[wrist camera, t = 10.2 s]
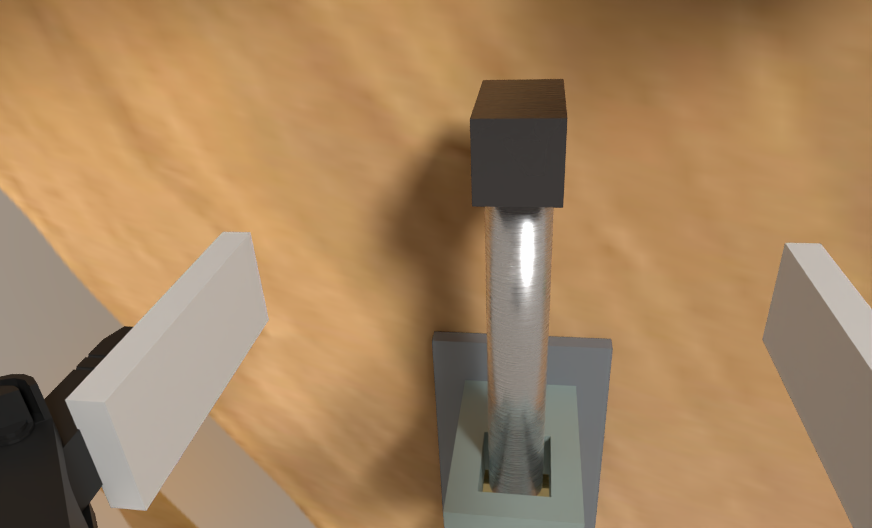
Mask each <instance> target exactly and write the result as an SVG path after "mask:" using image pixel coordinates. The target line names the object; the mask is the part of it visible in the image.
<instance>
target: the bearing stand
mask: <svg viewBox="0 0 872 528" xmlns="http://www.w3.org/2000/svg"><path fill="white" fill-rule="evenodd" d="M432 348H433V363H434V379H435V395H436V410H437V426H438V442H439V457H440V473H441V488H442V504H443V517H444V528H595V523H596V513H597V502H598V492H599V482H600V472H601V462H602V451H603V441H604V431H605V421H606V411H607V401H608V390H609V380H610V370H611V360H612V350H613V348H612V341H611V339H599V338H575V337H551V336H548V361H547V386H546V411H545V436H544V461H543V474H549V497H543V496H530V495H517V494H504V493H492V492H483V483H484V474H485V470H489V450H488V383H487V334H481V333H457V332H434V335H433V339H432Z"/></svg>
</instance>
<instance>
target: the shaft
mask: <svg viewBox="0 0 872 528" xmlns="http://www.w3.org/2000/svg"><path fill="white" fill-rule="evenodd" d="M566 135H567V110H566V100H565V90H564V79H534V80H483V82H482V85H481V88H480V91H479V94H478V97H477V100H476V103H475V106H474V109H473V111H472V114H471V117H470V138H471V178H472V206H476V207H485V249H486V316H487V383H488V450H489V485H490V488H491V490H492V491H493V493H504V494H517V495H530V496H537V495H538V494H539V493H540V491H541V489H542V485H543V461H544V436H545V411H546V386H547V361H548V336H549V311H550V286H551V261H552V236H553V211H554V208H563V198H564V177H565V156H566Z"/></svg>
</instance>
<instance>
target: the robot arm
mask: <svg viewBox="0 0 872 528" xmlns="http://www.w3.org/2000/svg"><path fill="white" fill-rule="evenodd" d="M268 320H269V318H268V313H267V309H266V304H265V299H264V294H263V290H262V285H261V280H260V275H259V271H258V266H257V261H256V256H255V252H254V247H253V242H252V237H251V233H250V232H222V233H221V234H220V235H219V237H218V238H217V239H216V240H215V241H214V242H213V243H212V244H211V245H210V246H209V247H208V248H207V249H206V250H205V251H204V252H203V254H202V255H201V256H200V257H199V258H198V259H197V260H196V261H195V262H194V263H193V264H192V265H191V266H190V267H189V268H188V270H187V271H186V272H185V273H184V274H183V275H182V276H181V277H180V278H179V279H178V280H177V281H176V282H175V283H174V284H173V286H172V287H171V288H170V289H169V290H168V291H167V292H166V293H165V294H164V295H163V296H162V297H161V298H160V299H159V300H158V301H157V303H156V304H155V305H154V306H153V307H152V308H151V309H150V310H149V311H148V312H147V313H146V314H145V315H144V316H143V317H142V319H141V320H140V321H139V322H138V323H137V324H136V325H135V326H134V327H126V326H124V327H123V328H121V329H119V330H118V331H116V332H114V333H113V334H111V335H109V336H108V337H106V338H105V339H103V340H102V341H101V342H100V343H99V344H98V345H97V346H96V347H95V348H94V349H93V350H92V351H91V352H90V353H89V356H88V357H85V358H84V359H83V360H82V361H81V362H80V363H79V364H78V366H77V368H76V370H73V371H72V372H71V373H70V374H69V375H68V376H67V377H66V378H65V379H64V380H63V381H62V382H61V383H60V384H59V385H58V386H57V387H56V388H55V389H54V390H53V391H52V392H51V393H50V394H49V395H48V396H47V397H46V398H45V399H44V398H43V396H42V394H41V391H40V389H39V387H38V384H37V383H36V381H35V380H34V378H33V377H31V376H28V375H25V374H10V375H6V376H1V377H0V528H98V526H97V521H96V517H95V513H94V511H93V508H92V506H91V504H90V501H91V500H92V499H93V497H94V496H95V495H96V493H97V492H98V491H99V489H100V488H101V487H102V488H103V491H104V493H105V495H106V498H107V500H108V502H109V505H110V507H111V508H122V509H134V510H145V511H147V509H148V507H149V506H150V504H151V503H152V501H153V500H154V498H155V497H156V495H157V493H158V492H159V490H160V489H161V487H162V485H163V484H164V482H165V481H166V479H167V478H168V476H169V475H170V473H171V471H172V470H173V468H174V467H175V465H176V464H177V462H178V461H179V459H180V457H181V456H182V454H183V453H184V451H185V449H186V448H187V447H188V445H189V443H190V442H191V440H192V439H193V437H194V435H195V434H196V432H197V431H198V429H199V428H200V426H201V425H202V423H203V421H204V420H205V418H206V417H207V415H208V414H209V412H210V411H211V409H212V408H213V406H214V404H215V403H216V401H217V400H218V398H219V397H220V395H221V393H222V392H223V390H224V389H225V387H226V386H227V384H228V383H229V381H230V379H231V378H232V376H233V375H234V373H235V372H236V370H237V369H238V367H239V365H240V364H241V362H242V361H243V359H244V358H245V356H246V354H247V353H248V351H249V350H250V348H251V347H252V345H253V344H254V342H255V340H256V339H257V337H258V336H259V334H260V333H261V331H262V329H263V328H264V326H265V325H266V323H267V322H268ZM762 340H763V342H764V344H765V346H766V348H767V350H768V352H769V354H770V356H771V358H772V361H773V363H774V365H775V367H776V369H777V371H778V373H779V375H780V377H781V379H782V381H783V383H784V385H785V387H786V390H787V392H788V394H789V396H790V398H791V400H792V402H793V404H794V406H795V408H796V410H797V412H798V414H799V416H800V418H801V421H802V423H803V425H804V427H805V429H806V431H807V433H808V435H809V437H810V439H811V441H812V443H813V445H814V447H815V450H816V452H817V454H818V456H819V458H820V460H821V462H822V464H823V466H824V468H825V470H826V472H827V474H828V476H829V479H830V481H831V483H832V485H833V487H834V489H835V491H836V493H837V495H838V497H839V499H840V501H841V503H842V505H843V507H844V510H845V512H846V514H847V516H848V518H849V520H850V522H851V524H852V526H853V528H872V309H871V308H870V306H869V305H868V304H867V303H866V301H865V300H864V299H863V297H862V296H861V295H860V294H859V292H858V291H857V290H856V288H855V287H854V286H853V285H852V283H851V282H850V281H849V279H848V278H847V277H846V276H845V274H844V273H843V272H842V270H841V269H840V268H839V267H838V265H837V264H836V263H835V261H834V260H833V259H832V258H831V256H830V255H829V254H828V252H827V251H826V250H825V249H824V247H823V246H822V245H821V244H816V243H785V246H784V250H783V254H782V258H781V263H780V267H779V271H778V275H777V280H776V284H775V288H774V292H773V297H772V301H771V305H770V309H769V314H768V318H767V322H766V326H765V331H764V335H763V339H762Z"/></svg>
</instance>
